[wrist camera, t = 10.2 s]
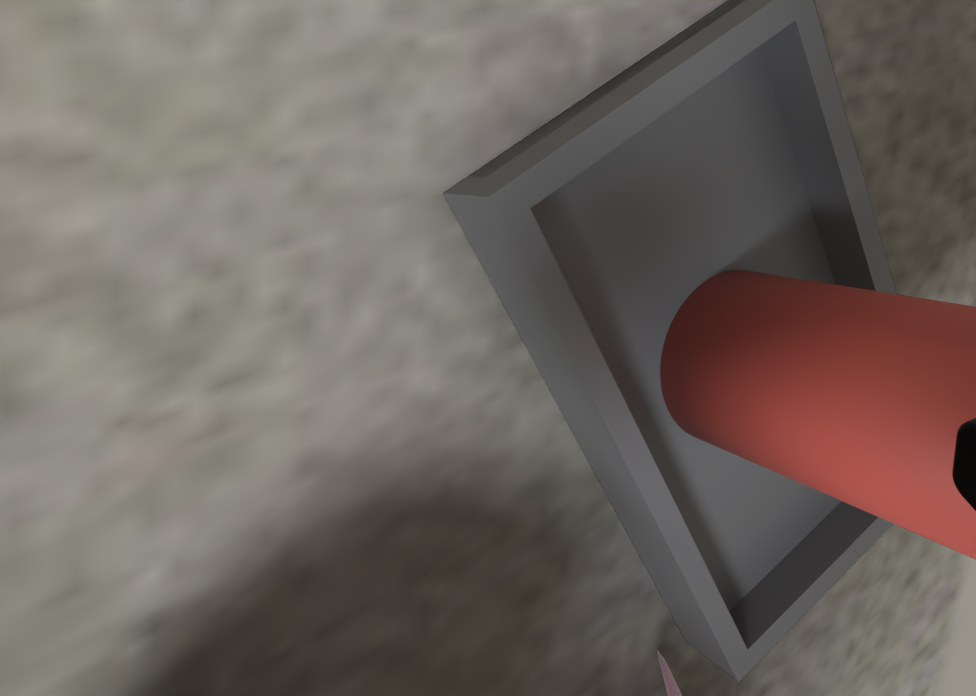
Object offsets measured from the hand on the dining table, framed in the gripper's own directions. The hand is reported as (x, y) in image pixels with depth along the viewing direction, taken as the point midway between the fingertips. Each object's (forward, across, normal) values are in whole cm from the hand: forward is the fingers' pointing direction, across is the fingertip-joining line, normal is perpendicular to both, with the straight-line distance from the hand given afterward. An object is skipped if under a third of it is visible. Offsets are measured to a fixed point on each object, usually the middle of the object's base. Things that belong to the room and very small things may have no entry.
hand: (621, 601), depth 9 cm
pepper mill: (+12, -9, +8) cm, 17 cm away
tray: (+14, -9, +8) cm, 18 cm away
